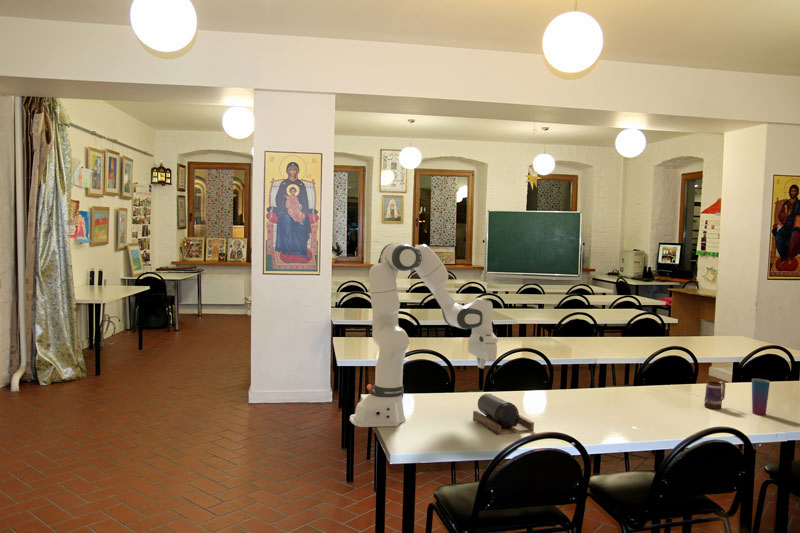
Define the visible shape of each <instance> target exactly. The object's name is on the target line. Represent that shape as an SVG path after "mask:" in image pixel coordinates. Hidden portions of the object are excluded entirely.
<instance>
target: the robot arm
mask: <svg viewBox="0 0 800 533" xmlns="http://www.w3.org/2000/svg"><path fill="white" fill-rule="evenodd" d="M411 270H414V271H415V272H416V273H417V275H418V277H419V278H420V280H421V281H422V282H423V284H425V286H426V287H427V288H428V289H429V291H430V293H431V294H432V297H434V299H435V300H436V302H437V303H438V306H439V307H440V309H441V312H442V313H441V314H442V317H443V319H444V322H445V323H446V324H447V325H449V326H450V327H456V328H458V329H463V330H471V334H470V336H469V338H468V342H467V343H468V344H467V352H468V354H471V355H473V356H475V357H476V363H477V367H478V368H480V369H484V368H485V364H486V362H496V360H497V355H498V354H497V353H498V346H497V343H498V341H499V339H498V337H497V336H496V335H495V333H494V331H493V320H494V308H493V306H494V305H493V302H492V301H491V300H489V299H485V298H481V297H476V298H473V300H472V301H471V302H469V303H467V304H464V305H462V304H459V303H457V302H456V301H455V300H454V299H453V297H452V296H451V295H450V293H449V291H448V289H447V287H446V283H447V282H448V279H449V273H448V269H447V267H446V266H445V264H444V263H443V261H442V260H441V259H440V257H439V256H438V255H437V253H436V252H435V251H434V250H433V249H432V248H431V247H429V246H428V245H427V244H418V245H416V246H412V245H411V244H406V243H401V242H395V243H389V244H387V245H385V246H384V247H383V248H382V250H381V251H380V254H379V259H378V262H377V263H375V264H373V265H372V266H371V267H370V269H369V275H368V283H369V294H370V302H371V310H372V323H371V324H372V325H371V326H372V332H371V336H372V340H373V342H374V344H375V345H376V346H378V347H379V353H378V357H377V362H376V364H375V372H374V373H375V380H374V381H375V382H374V384H373V385H372V384H367V385H366V388H367V390H368V391H370V392H369V394H368V395H367V396H366V397H365V398H363V399H362V400H361V401H360V402H358V403H357V405H356V408H355V413H354V414H351V415H350V416H349V421H350V423H351V424H353V425H354V426H356V427H358V428H373V427H375V428H378V427H382V428H383V427H398V426H399V425H400V424H401V423H404V422H405V421H406V415H405V410H404V403H403V398H404V384H403V378H404V377H403V376H404V371H403V370H404V364H405V363H404V361H405V357H406V353H407V352H406V351H407V349H408V348H409V345H410V338H409V335H408V334H407V332H406V330H405V329H403V328H402V327H400V325H399V311H400V300H399V292H398V285H397V275H398V273H399V272H407V271H411Z"/></svg>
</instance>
